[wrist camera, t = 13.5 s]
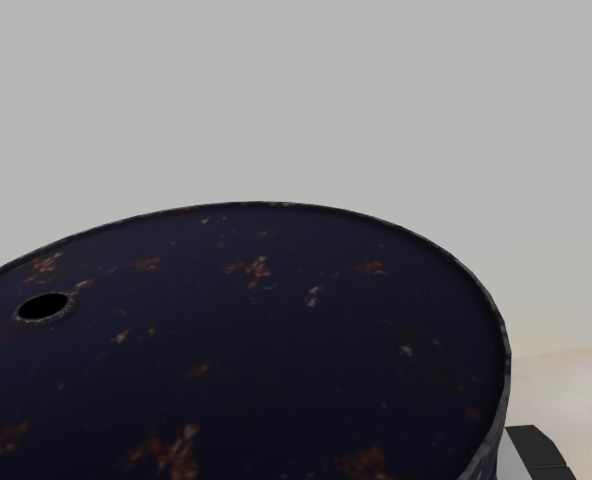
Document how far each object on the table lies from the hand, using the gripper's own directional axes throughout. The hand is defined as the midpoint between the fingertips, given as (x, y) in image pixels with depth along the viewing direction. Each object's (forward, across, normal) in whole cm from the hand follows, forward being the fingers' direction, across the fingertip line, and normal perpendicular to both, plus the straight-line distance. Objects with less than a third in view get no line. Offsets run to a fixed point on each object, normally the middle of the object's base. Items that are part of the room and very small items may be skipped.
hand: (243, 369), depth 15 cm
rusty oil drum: (-4, 0, -10) cm, 11 cm away
